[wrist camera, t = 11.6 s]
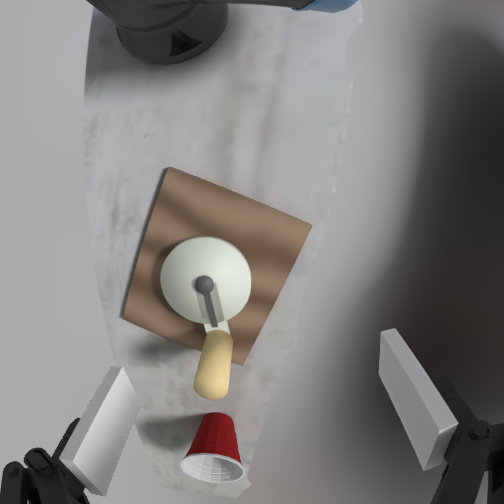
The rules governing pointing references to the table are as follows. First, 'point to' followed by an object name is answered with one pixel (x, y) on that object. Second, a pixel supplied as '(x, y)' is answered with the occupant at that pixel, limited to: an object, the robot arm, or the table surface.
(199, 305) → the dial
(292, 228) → the base plate
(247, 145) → the table surface
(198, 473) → the plastic cup
